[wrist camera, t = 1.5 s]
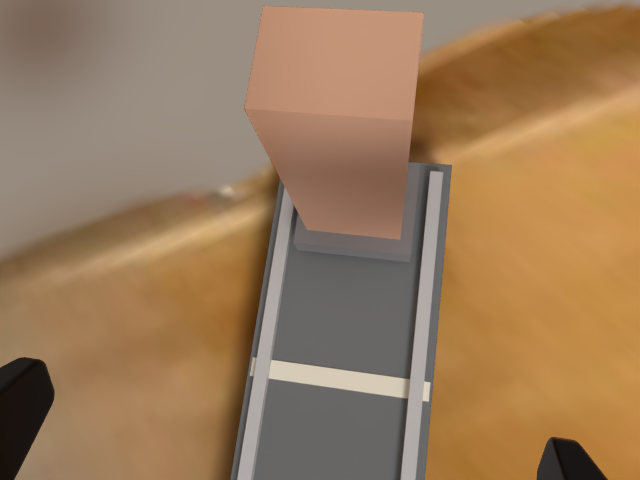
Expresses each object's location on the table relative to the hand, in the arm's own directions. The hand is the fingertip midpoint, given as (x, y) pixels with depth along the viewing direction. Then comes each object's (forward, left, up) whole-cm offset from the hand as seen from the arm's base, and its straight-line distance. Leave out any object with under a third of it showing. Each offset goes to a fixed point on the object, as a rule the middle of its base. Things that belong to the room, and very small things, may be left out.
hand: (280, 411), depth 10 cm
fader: (+6, +3, -11) cm, 13 cm away
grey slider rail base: (0, 0, -13) cm, 13 cm away
